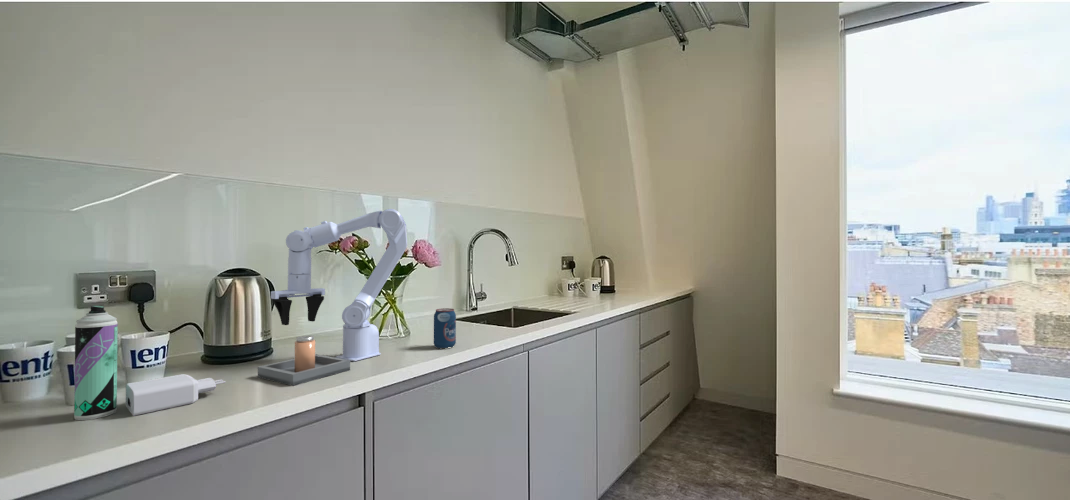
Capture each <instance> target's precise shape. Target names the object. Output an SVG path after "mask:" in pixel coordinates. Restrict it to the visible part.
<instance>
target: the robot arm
mask: <svg viewBox="0 0 1070 500" xmlns="http://www.w3.org/2000/svg"><path fill="white" fill-rule="evenodd" d="M366 228H377V229H381V228H382V230H383V231H384V232H385V235H386V237H387V240H388V241H387V242H388V243H389V245H388V247H386V250H385V252H383V255H381V258H380V260H379V261H378V263H377V264H376V266H375V268H374V269H373V271H372V272H371V274H370V275H369V278H368V279H367V280H366V282H365V284H364V285H363V287H362V289H360V291H359V293H358V294H357V295H356V297H355V299H354V300H353V301H352V303H350V304H348V306H346V307H345V308H344V309H343V310H342V313H341V319H342V321H343V323H344V324H343V325H342V354H341V355H336V356H335V358H340V359H346V360H350V362H356V361H357V362H358V361H360V360H365V359H369V358H372V357H376V356H380V355H381V354H382V353H381V352H380V332H379V329H378V327H377V326H376V325H375V324H373V323H370V322H369V320H368V319H369V317H370V314H371V308H372V306H373V304H374V302H375V300H376V298H377V297H378V296H379V294H380V292H381V290H382V289H383V287H384V285H385V284H386V282H387V281H388V279H389V277H390V276H391V274H392V272H393V271H394V270H395V268H396V266H397V265H398V263H399V261H400V260H401V258H402V256H403V255H404V253H405V251H406V250H407V248H408V234H407V224H406V222H405V219H404V217H403V216H402V214H401V212H399V211H398V210H397V209H394V208H387V209H384V210H378V211H377V210H376V211H373V212H369V213H365V214H362V215H360V216H357V217H354V218H351V219H348V220H346V221H343V222H339V223H336V222H333V221H327V220H323V221H321V222H320V224H318V225H315V226H311V227H308V226H306V227H304V228H303V230H300V229H296V230H294V231H291V232H290V233H288V235H287V236H286V239H285V244H286V246H287V248H288V257H287V259H288V260H287V262H288V263H287V289H284V290H272V291H270V299H271V300H272V303H273V304H274V306H275V308H276V310H277V312H278V315H279V318H280V322H281V325H283V326H289V324H290V311H291V307H292V303H293V300H292V299H290V298H301V297H305V301H306V304H307V305H306V306H307V321H308V322H312V323H313V322H315V321H316V319H317V314H318V311H319V309H320V306H321V305H322V303H323V302H324V300H325V296H326V288H323V287H321V288H320V287H319V288H312V249H313V248H319V247H323V246H326V245H328V244H331V243H334V242H335V243H336V242H338V241H339V239H340V238H341V236H342V235H345V234H348V233H352V232H356V231H359V230H362V229H366Z"/></svg>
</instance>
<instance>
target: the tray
mask: <svg viewBox="0 0 1070 500" xmlns="http://www.w3.org/2000/svg"><path fill="white" fill-rule="evenodd" d="M347 371H351V361H350V360H346V359H340V358H336V357H333V356H328V355H324V354H323V355H322V354H316V353H315V368H312V369H308V370H304V371H300V372H295V358H291V359H288V360H287V359H285V360H283V361H278V362H273V363H269V364H264V365H259V366H257V378H258V379H263V380H268V381H272V382H276V383H280V384H284V385H288V386H293V387H294V386H298V385H301V384H304V383H308V382H312V381H315V380H321V379H322V378H326V377H330V376H334V375H336V374H341V373H344V372H347Z"/></svg>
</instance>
